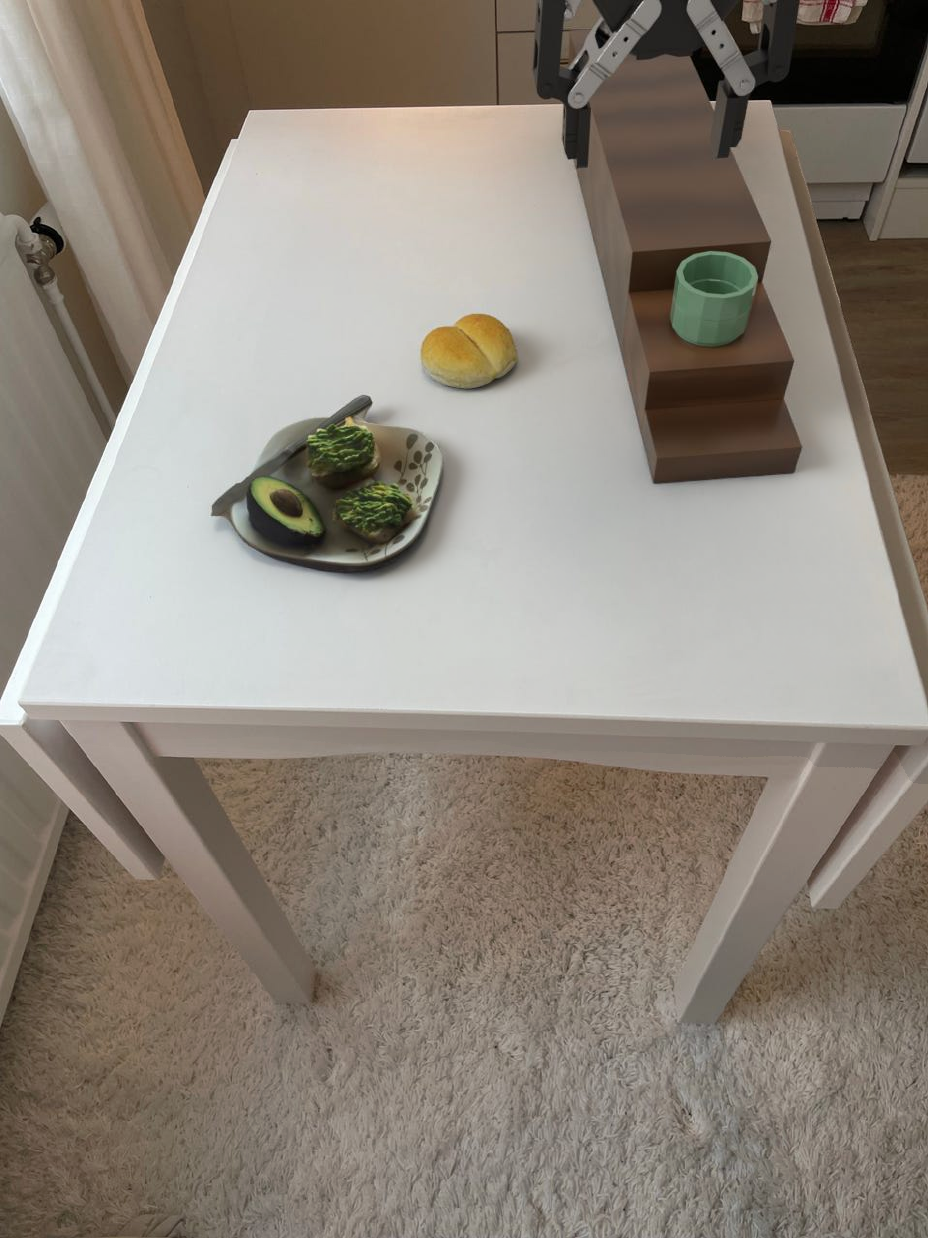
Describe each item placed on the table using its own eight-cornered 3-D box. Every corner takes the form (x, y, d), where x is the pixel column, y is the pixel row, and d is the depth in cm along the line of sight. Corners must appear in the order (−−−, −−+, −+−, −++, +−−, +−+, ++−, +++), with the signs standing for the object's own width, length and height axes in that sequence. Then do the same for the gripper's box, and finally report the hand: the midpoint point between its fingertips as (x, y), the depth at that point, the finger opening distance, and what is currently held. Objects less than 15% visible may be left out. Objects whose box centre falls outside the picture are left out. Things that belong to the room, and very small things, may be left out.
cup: (754, 311, 83) (766, 259, 79) (734, 356, 79) (745, 304, 75) (682, 295, 84) (690, 244, 80) (659, 338, 81) (667, 287, 77)
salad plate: (287, 397, 90) (277, 357, 86) (470, 426, 86) (468, 385, 82) (199, 550, 79) (183, 512, 75) (404, 590, 75) (398, 552, 71)
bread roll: (407, 357, 92) (403, 322, 89) (486, 325, 95) (485, 290, 91) (449, 405, 88) (446, 370, 85) (531, 370, 90) (532, 335, 87)
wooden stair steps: (794, 473, 81) (828, 368, 72) (652, 483, 81) (669, 380, 72) (663, 120, 117) (675, 21, 108) (565, 127, 117) (569, 30, 108)
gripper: (545, -141, 43) (539, 199, 56) (859, -166, 43) (781, 180, 56) (529, -190, 48) (527, 135, 61) (813, -212, 48) (750, 118, 61)
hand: (649, 156), depth 58 cm, fingers open, 8 cm apart
